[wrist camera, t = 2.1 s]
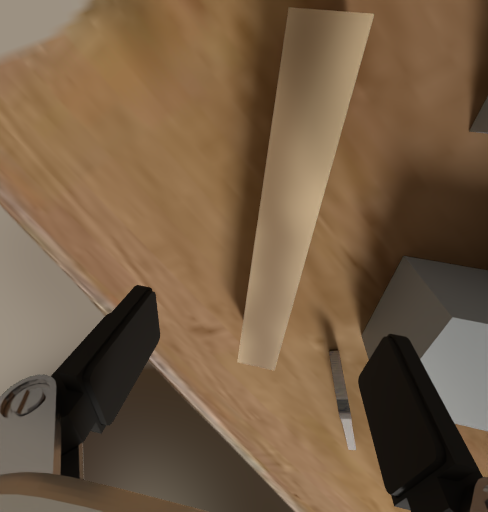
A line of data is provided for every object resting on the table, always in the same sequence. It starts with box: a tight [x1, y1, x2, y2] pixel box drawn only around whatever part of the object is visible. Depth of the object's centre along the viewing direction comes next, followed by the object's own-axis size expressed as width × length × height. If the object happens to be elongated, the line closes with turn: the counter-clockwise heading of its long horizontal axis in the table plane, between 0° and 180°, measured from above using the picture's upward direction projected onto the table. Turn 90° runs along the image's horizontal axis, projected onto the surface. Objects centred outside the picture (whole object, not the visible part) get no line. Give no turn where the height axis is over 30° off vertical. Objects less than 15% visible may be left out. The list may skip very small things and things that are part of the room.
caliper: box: [329, 351, 356, 450], centre depth 28 cm, size 20×1×6 cm, turn 18°
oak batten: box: [237, 7, 374, 371], centre depth 18 cm, size 4×24×5 cm, turn 174°
